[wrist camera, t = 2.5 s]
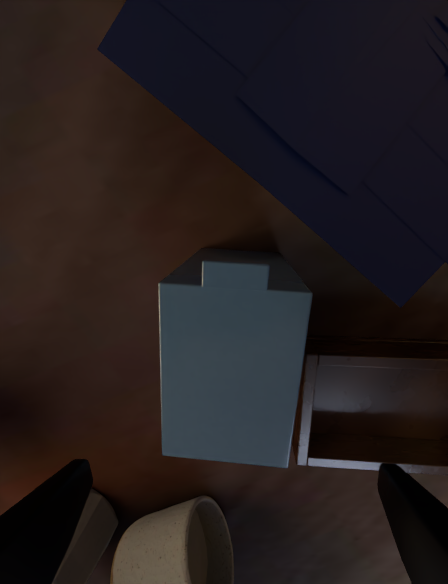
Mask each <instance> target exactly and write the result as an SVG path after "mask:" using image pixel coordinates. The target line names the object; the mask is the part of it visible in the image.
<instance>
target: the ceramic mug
mask: <svg viewBox="0 0 448 584" xmlns="http://www.w3.org/2000/svg"><path fill="white" fill-rule="evenodd" d="M233 583H234V561H233V549H232V543H231V538H230V533H229V529H228V525H227V522H226V520H225V517H224V515H223V513H222V511H221V509H220V507H219V506H218V504H217V503H216V502H215V501H214V500H213V499H212V498H211V497H208V496H200V497H197V498H194V499H191V500H189V501H186V502H183V503H180V504H177V505H174V506H171V507H169V508H166V509H163V510H160V511H157V512H154V513H151V514H148V515H146V516H144V517H142V518H140V519H139V520H137V521H136V522H134V523H133V524H132V525H131V526H130V527H129V528H128V529H127V530H126V531H125V532H124V534H123V536H122V537H121V539H120V541H119V544H118V546H117V549H116V552H115V554H114V559H113V564H112V569H111V582H110V584H233Z"/></svg>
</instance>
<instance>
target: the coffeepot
mask: <svg viewBox="0 0 448 584" xmlns="http://www.w3.org/2000/svg"><path fill="white" fill-rule="evenodd" d="M118 523H119V522H118V519H117V517H116V514H115V511H114V509H113V507H112V506H111V504H110V503H109V502H108V500H107V499H105V498H104V497H103V496H102V495H101V494H100V493H98V492H97V491H95V490H93V489H91V491H90V493H89V496H88V499H87V501H86V504H85V507H84V509H83V512H82V515H81V517H80V520H79V522H78V525H77V528H76V530H75V533H74V536H73V538H72V541H71V543H70V545H69V548H68V550H67V552H66V554H65V557H64V559H63V561H62V563H61V565H60V567H59V569H58V571H57V574H56V576H55V578H54V580H53V582H52V584H86V583H87V581H88V579H89V577H90V576H91V574H92V572H93V570H94V569H95V567H96V565H97V563H98V562H99V560H100V558H101V556H102V555H103V553H104V551H105V549H106V548H107V546H108V544H109V542H110V540H111V538H112V536H113V534H114V531H115V529H116V527H117V525H118Z"/></svg>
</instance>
